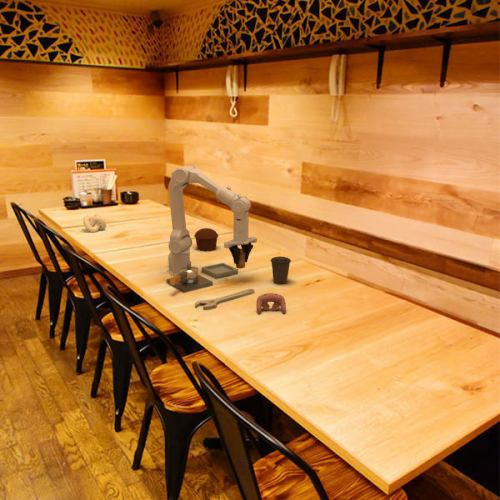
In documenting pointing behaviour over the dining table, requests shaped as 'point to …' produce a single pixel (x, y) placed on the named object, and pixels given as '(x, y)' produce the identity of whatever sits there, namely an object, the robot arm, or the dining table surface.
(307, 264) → the dining table surface
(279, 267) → the coffee cup
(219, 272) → the tray
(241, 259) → the orange bottle
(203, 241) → the muffin
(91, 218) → the pretzel
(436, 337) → the dining table surface
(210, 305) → the adjustable wrench
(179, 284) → the chuck base
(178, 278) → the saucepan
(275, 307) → the video game controller
